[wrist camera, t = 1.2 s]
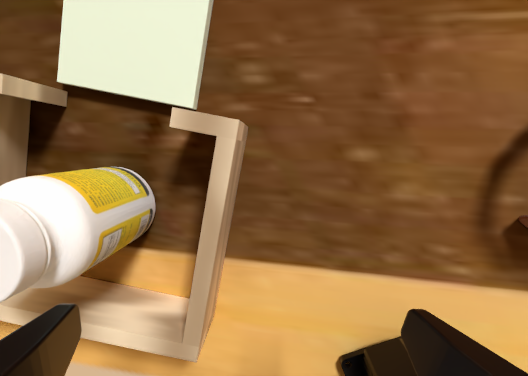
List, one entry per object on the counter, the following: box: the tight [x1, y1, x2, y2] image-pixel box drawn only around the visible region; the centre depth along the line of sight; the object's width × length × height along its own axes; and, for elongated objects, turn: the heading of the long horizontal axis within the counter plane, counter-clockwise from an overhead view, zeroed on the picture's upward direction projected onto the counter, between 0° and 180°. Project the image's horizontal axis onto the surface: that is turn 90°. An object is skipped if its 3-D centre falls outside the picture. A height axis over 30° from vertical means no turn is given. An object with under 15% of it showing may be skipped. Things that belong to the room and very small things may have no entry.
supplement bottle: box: [0, 167, 155, 303], centre depth 15 cm, size 5×5×10 cm
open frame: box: [0, 74, 248, 362], centre depth 18 cm, size 16×14×4 cm
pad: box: [57, 0, 213, 110], centre depth 18 cm, size 9×9×1 cm
